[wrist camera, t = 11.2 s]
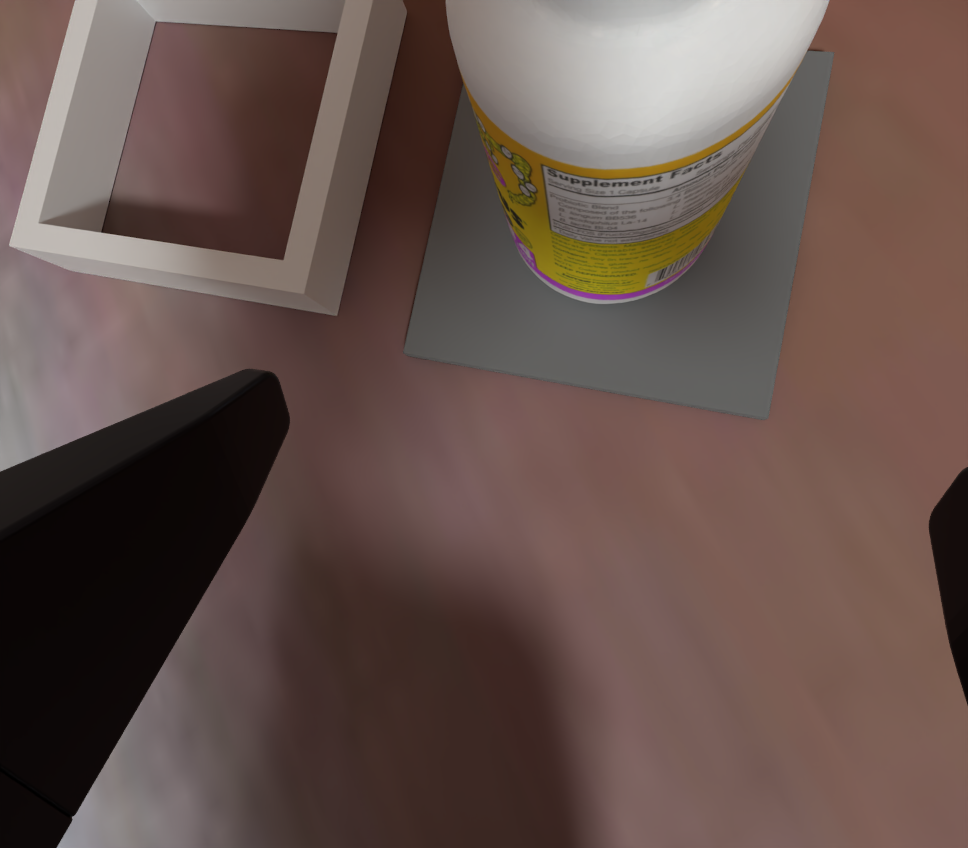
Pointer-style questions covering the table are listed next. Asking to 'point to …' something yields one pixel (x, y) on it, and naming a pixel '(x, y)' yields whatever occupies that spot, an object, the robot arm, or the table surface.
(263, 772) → the table surface
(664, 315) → the mat
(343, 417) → the table surface
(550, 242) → the supplement bottle
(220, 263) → the holder
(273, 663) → the table surface
